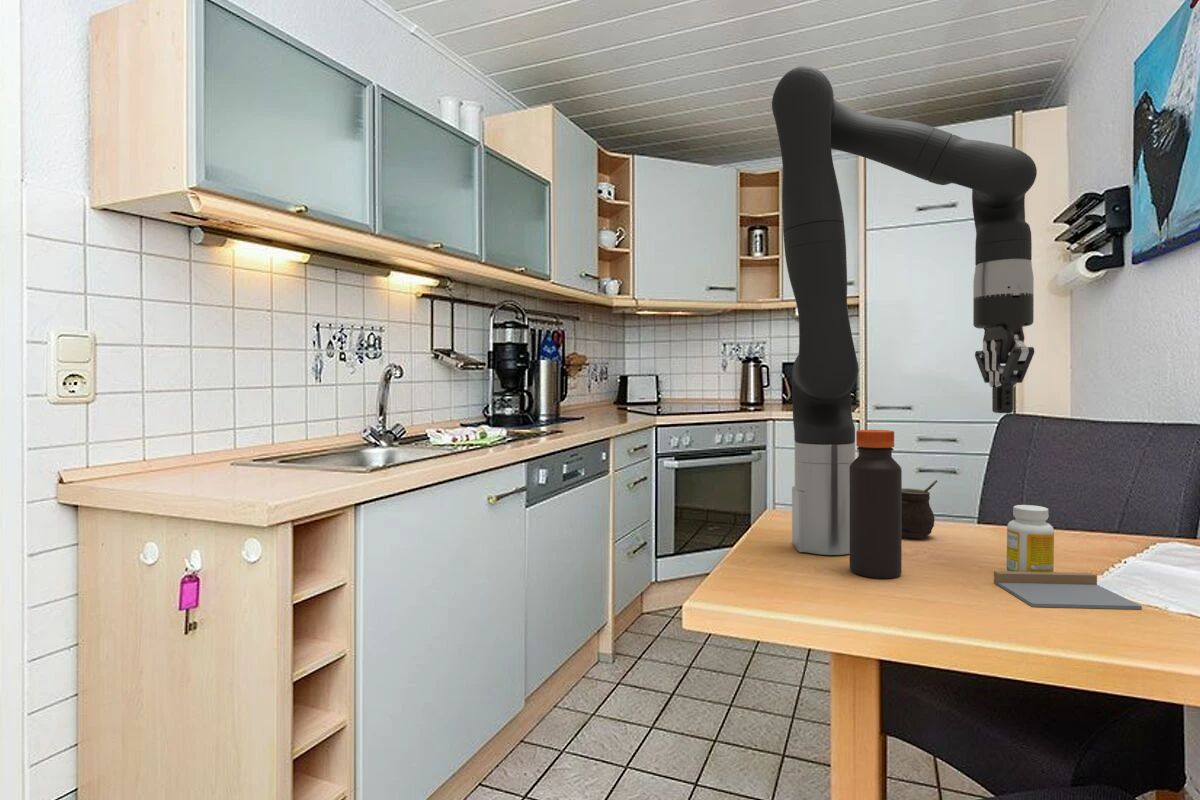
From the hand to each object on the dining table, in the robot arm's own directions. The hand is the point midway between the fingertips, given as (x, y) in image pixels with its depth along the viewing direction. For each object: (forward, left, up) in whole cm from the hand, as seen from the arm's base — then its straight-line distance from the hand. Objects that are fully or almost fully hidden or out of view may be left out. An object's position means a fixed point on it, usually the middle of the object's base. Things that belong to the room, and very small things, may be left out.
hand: (1002, 412), depth 97 cm
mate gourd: (-7, +16, -22) cm, 29 cm away
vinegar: (-20, -7, -22) cm, 31 cm away
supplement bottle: (0, -8, -22) cm, 24 cm away
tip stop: (0, -16, -22) cm, 27 cm away
